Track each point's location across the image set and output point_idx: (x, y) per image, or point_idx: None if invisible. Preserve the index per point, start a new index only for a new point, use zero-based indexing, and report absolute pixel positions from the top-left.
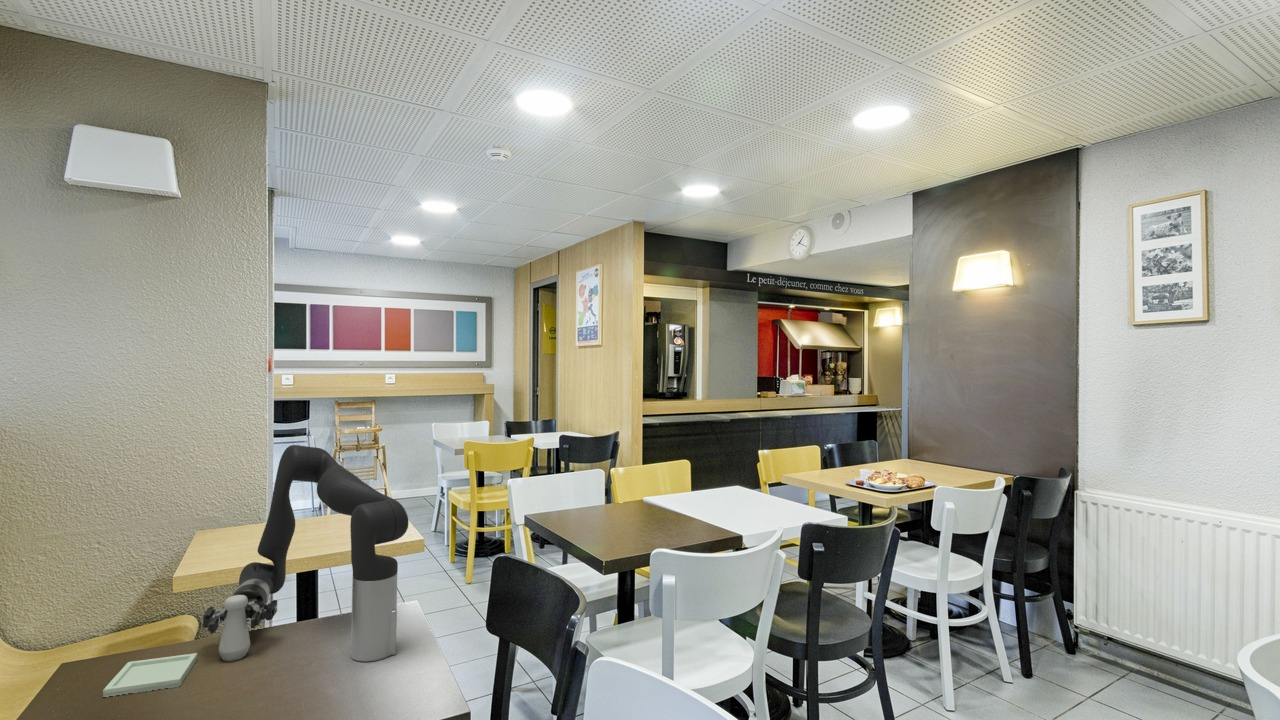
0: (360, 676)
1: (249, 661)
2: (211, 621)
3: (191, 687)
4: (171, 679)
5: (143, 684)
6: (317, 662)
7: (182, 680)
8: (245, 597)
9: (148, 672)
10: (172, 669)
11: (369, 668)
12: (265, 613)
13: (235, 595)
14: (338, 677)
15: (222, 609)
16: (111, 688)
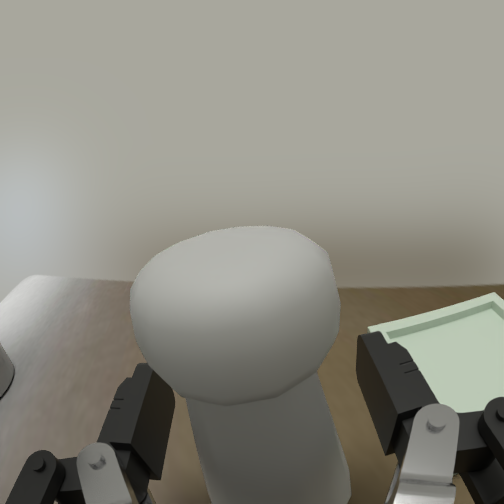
0: (39, 329)
1: None
2: (413, 379)
3: None
4: (388, 326)
5: (437, 310)
6: (59, 390)
7: None
8: (143, 271)
9: (497, 370)
10: (447, 390)
11: (18, 344)
12: (76, 461)
13: (238, 267)
14: (60, 333)
15: (438, 491)
16: (484, 295)
